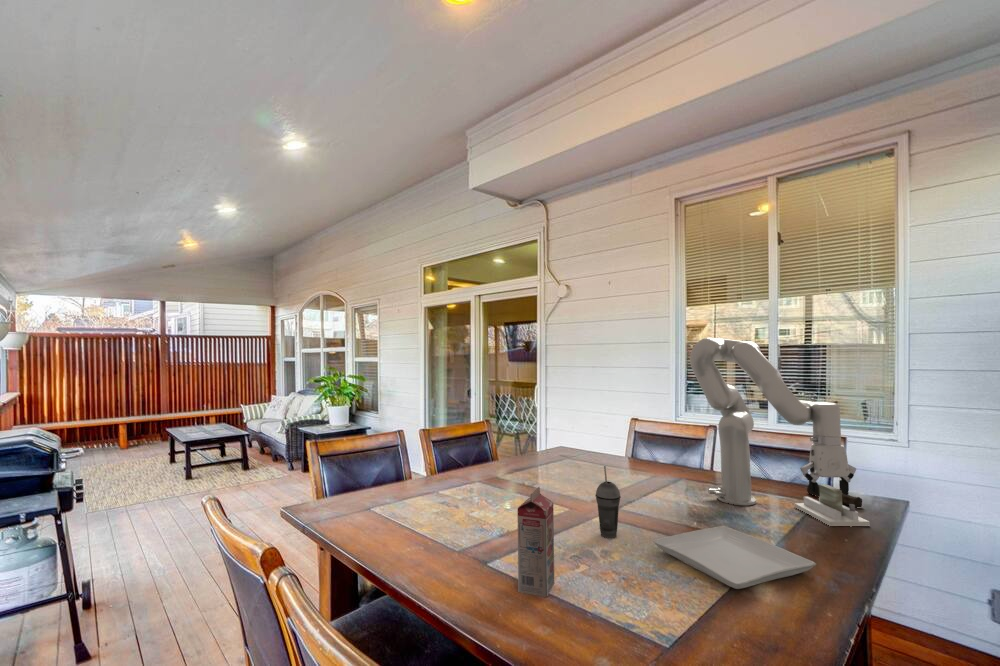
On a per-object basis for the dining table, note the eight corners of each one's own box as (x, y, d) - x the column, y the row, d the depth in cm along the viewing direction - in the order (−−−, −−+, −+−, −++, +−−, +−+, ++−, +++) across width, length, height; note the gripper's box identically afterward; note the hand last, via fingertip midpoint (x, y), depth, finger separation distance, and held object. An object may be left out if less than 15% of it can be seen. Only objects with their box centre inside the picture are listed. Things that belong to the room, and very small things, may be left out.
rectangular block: (835, 516, 150) (834, 490, 150) (820, 509, 157) (819, 484, 157) (842, 516, 150) (841, 490, 150) (827, 509, 157) (826, 484, 157)
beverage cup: (607, 542, 135) (605, 471, 135) (590, 533, 141) (589, 465, 142) (626, 537, 138) (625, 468, 139) (610, 529, 144) (608, 463, 145)
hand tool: (863, 508, 162) (863, 495, 163) (855, 509, 161) (854, 495, 161) (813, 493, 180) (812, 481, 181) (804, 494, 179) (804, 481, 180)
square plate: (738, 601, 103) (737, 582, 103) (650, 553, 128) (650, 538, 128) (818, 576, 114) (818, 560, 114) (723, 536, 139) (723, 523, 139)
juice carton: (518, 592, 107) (517, 493, 108) (527, 578, 113) (526, 485, 114) (546, 597, 105) (545, 495, 106) (554, 583, 111) (553, 487, 112)
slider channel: (830, 526, 145) (829, 507, 146) (794, 507, 163) (794, 490, 164) (869, 526, 145) (868, 507, 145) (829, 507, 163) (829, 490, 163)
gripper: (807, 442, 152) (809, 497, 151) (862, 442, 151) (864, 497, 151) (793, 438, 159) (795, 490, 158) (845, 438, 159) (847, 490, 158)
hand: (829, 493), depth 155 cm, fingers open, 9 cm apart
